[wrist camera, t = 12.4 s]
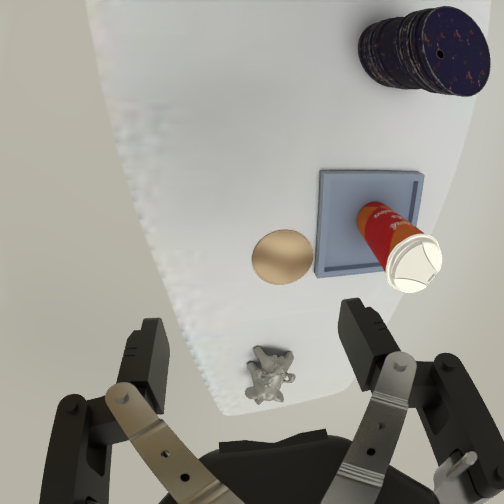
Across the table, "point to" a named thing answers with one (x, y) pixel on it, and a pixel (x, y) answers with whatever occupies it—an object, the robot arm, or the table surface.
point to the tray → (347, 208)
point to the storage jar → (427, 52)
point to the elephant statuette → (269, 376)
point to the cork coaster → (282, 257)
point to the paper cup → (399, 247)
